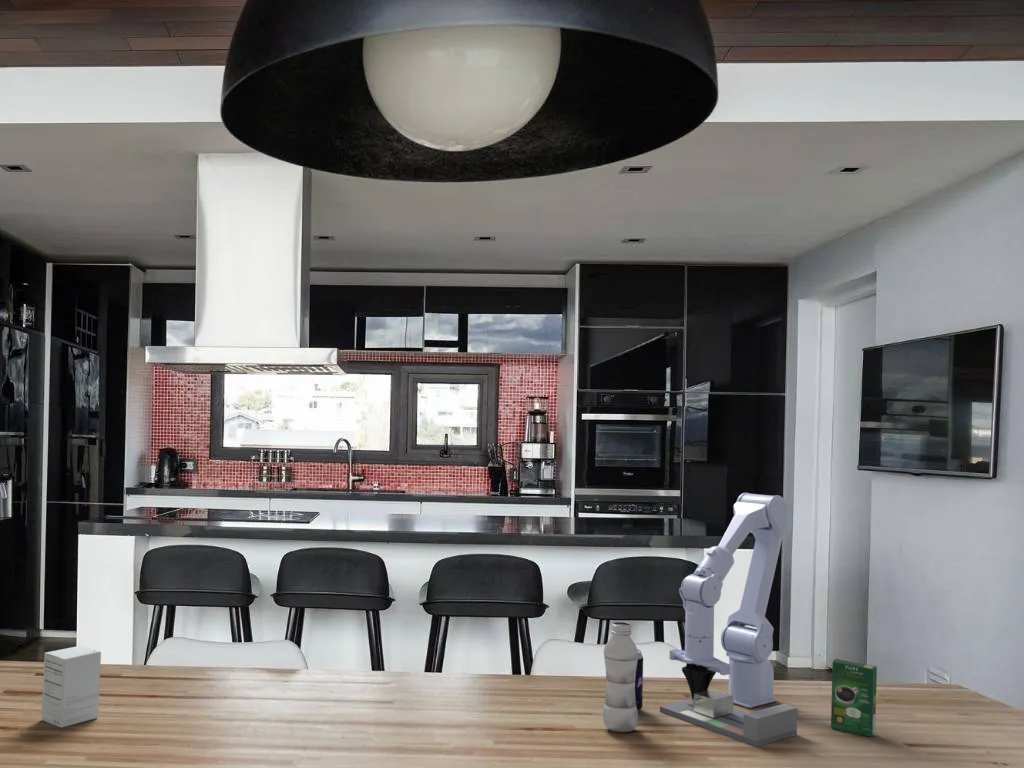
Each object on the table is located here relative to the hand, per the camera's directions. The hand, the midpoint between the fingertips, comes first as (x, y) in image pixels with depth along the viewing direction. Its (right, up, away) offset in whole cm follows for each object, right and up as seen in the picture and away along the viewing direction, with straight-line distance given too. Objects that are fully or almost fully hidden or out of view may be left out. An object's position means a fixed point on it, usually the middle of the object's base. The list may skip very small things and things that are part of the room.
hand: (698, 702), depth 179 cm
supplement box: (-121, +1, -13) cm, 122 cm away
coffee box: (+28, -2, -9) cm, 30 cm away
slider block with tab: (+1, -1, -4) cm, 4 cm away
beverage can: (-14, -2, 0) cm, 14 cm away
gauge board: (+4, -2, -6) cm, 7 cm away
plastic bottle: (-17, -1, -12) cm, 21 cm away
